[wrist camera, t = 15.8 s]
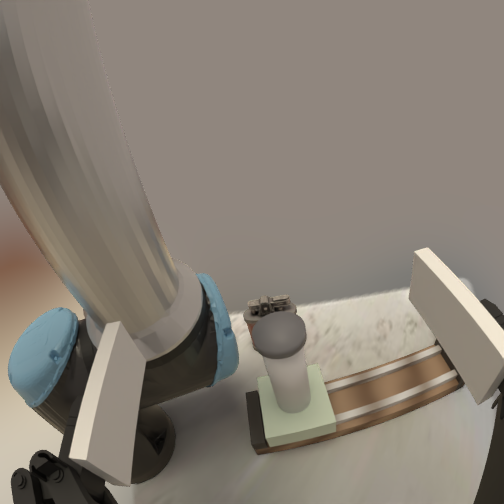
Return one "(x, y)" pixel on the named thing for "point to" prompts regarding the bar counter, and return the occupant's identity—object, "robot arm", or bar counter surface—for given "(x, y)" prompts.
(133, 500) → the bar counter surface
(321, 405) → the carriage
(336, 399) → the rail track
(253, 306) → the lighter
